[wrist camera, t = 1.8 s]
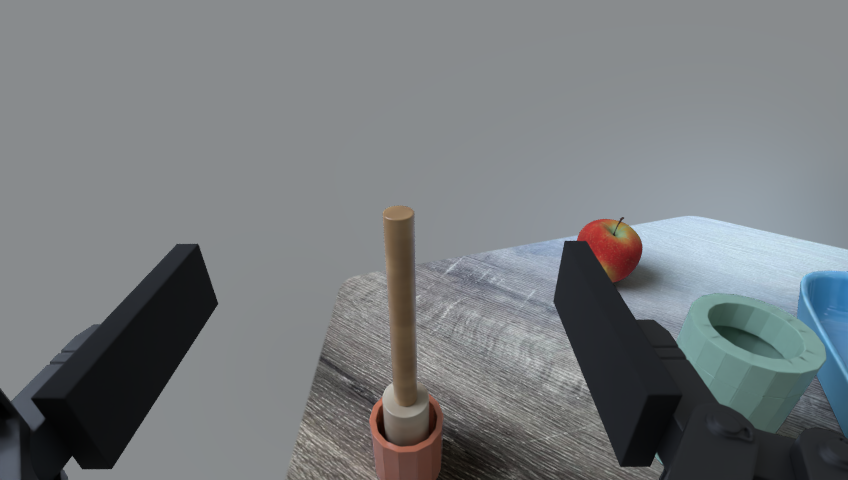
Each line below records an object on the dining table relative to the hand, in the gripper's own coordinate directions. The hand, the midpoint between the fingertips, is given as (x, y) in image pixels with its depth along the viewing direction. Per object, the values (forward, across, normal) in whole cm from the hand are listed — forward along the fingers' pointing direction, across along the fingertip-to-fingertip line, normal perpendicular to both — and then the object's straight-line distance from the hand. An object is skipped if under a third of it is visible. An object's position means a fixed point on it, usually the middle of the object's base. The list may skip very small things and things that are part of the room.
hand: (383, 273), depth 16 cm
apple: (+36, +26, -27) cm, 52 cm away
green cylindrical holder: (+11, +25, -27) cm, 38 cm away
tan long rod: (+9, 0, -26) cm, 28 cm away
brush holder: (+9, 0, -27) cm, 28 cm away
